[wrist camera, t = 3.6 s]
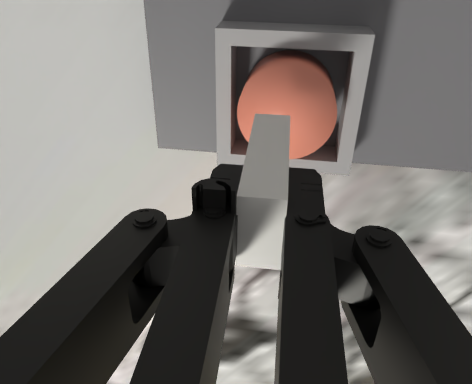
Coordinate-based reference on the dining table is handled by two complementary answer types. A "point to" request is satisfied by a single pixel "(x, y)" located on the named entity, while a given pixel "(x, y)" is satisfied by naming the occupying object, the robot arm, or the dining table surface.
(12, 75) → the dining table surface
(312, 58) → the push button
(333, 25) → the switch panel
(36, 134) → the dining table surface
